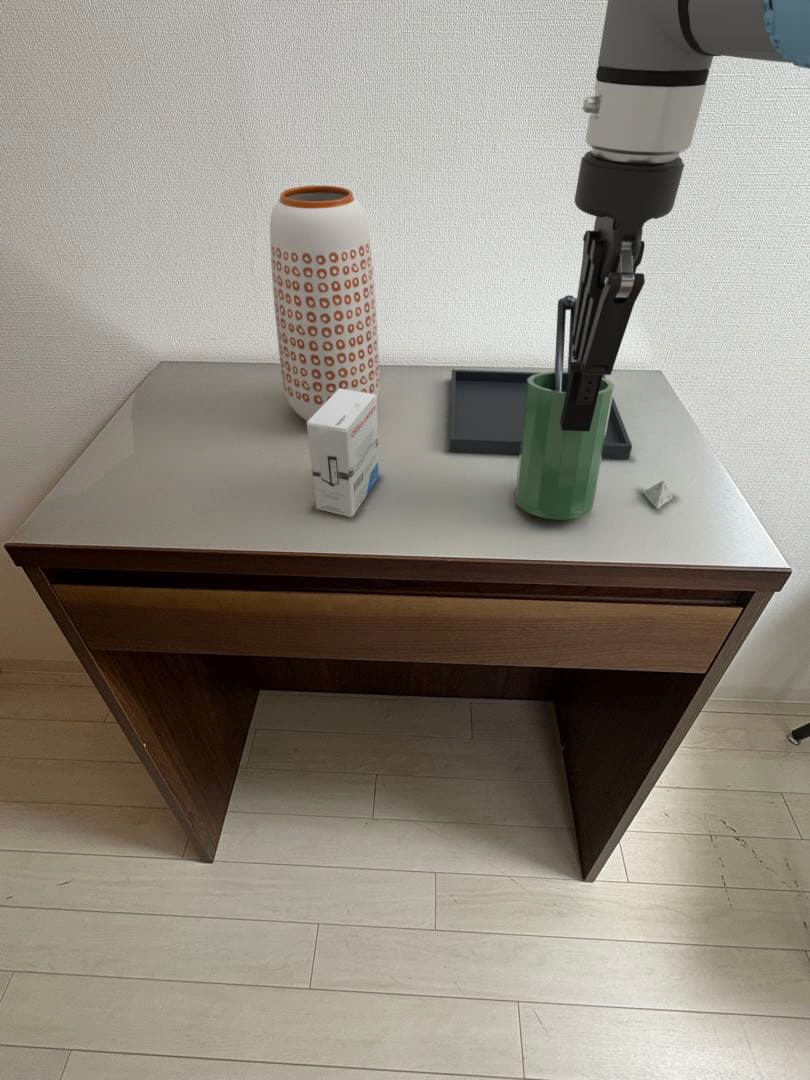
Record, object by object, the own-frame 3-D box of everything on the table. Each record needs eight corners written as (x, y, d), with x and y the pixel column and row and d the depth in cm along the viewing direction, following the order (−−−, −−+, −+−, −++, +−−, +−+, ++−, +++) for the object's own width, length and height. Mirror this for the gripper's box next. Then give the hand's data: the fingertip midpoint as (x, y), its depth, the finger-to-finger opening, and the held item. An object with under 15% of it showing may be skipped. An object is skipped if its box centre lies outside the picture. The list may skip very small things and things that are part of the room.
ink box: (344, 470, 78) (338, 384, 70) (380, 478, 77) (378, 392, 69) (313, 509, 72) (303, 420, 64) (352, 519, 70) (347, 429, 63)
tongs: (556, 470, 78) (579, 294, 67) (569, 510, 68) (598, 312, 58) (538, 469, 78) (557, 294, 68) (548, 509, 68) (573, 311, 58)
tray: (601, 386, 95) (604, 374, 94) (628, 459, 80) (632, 446, 79) (451, 381, 96) (451, 369, 95) (449, 452, 81) (450, 438, 80)
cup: (598, 494, 74) (619, 377, 67) (584, 526, 67) (606, 398, 60) (526, 481, 77) (538, 368, 70) (505, 510, 70) (518, 387, 63)
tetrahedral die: (639, 510, 73) (645, 496, 71) (642, 491, 75) (648, 477, 72) (670, 516, 73) (677, 502, 70) (672, 497, 74) (679, 482, 71)
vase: (393, 428, 86) (391, 201, 67) (299, 445, 82) (269, 212, 64) (364, 385, 95) (355, 177, 76) (278, 400, 91) (247, 185, 73)
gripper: (571, 137, 51) (531, 394, 67) (598, 169, 42) (543, 461, 57) (662, 138, 51) (601, 397, 67) (711, 171, 41) (625, 465, 57)
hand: (574, 426), depth 62 cm, fingers closed
